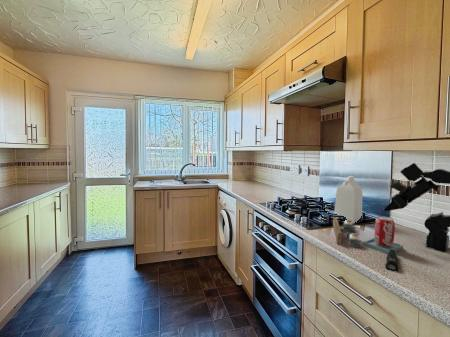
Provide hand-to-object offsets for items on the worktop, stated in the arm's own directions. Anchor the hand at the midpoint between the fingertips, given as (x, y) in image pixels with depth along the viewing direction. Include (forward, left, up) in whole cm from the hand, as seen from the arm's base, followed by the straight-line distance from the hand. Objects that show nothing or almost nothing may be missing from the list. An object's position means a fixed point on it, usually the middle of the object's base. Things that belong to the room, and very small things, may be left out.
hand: (386, 208), depth 119 cm
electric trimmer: (-15, +29, -14) cm, 36 cm away
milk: (+26, -12, -14) cm, 32 cm away
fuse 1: (+16, +5, -14) cm, 22 cm away
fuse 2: (+2, +24, -14) cm, 27 cm away
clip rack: (+11, +16, -14) cm, 23 cm away
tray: (-6, +16, -14) cm, 22 cm away
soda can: (-6, +16, -13) cm, 21 cm away
